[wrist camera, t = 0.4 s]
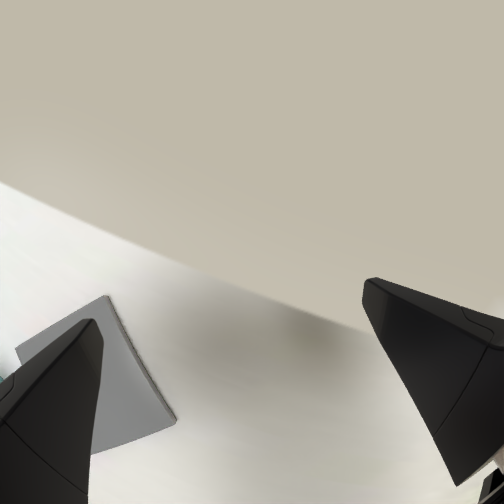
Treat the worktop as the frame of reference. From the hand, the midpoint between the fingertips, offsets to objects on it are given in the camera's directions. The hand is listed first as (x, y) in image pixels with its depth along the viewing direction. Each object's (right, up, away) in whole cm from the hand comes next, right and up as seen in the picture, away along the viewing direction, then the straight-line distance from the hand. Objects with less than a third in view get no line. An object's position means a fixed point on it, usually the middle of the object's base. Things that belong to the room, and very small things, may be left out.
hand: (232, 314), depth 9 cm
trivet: (-14, -10, +12) cm, 21 cm away
